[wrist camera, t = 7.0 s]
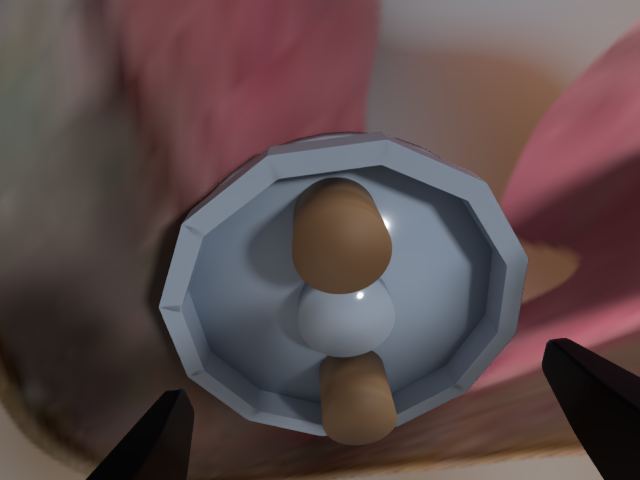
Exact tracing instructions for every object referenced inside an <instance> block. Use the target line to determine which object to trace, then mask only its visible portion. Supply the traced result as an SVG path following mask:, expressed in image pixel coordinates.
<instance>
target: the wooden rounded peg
mask: <svg viewBox="0 0 640 480" xmlns="http://www.w3.org/2000/svg"><path fill="white" fill-rule="evenodd" d="M319 377H320V392H321V408H322V424H323V429H324V431H325V433H326V434H327V436H328V437H330V438H331V439H332V440H334V441H336V442H339V443H342V444H346V445H365V444H370V443H373V442H376V441H378V440H380V439H382V438H384V437H385V436H387V435H388V434H389V433H390V432H391V431H392V430H393V429H394V427H395V425H396V422H397V413H396V409H395V406H394V402H393V398H392V394H391V391H390V387H389V383H388V379H387V376H386V372H385V368H384V364H383V361H382V359H381V358H380V356H379V355H378V354H377V353H375V352H374V351H372V350H371V351H369V352H367V353H364V354H361V355H358V356H352V357H333V356H329V355H328V356H327V357H326V358H325V359H324V360H323V362H322V363H321V366H320V369H319Z"/></svg>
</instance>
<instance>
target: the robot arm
mask: <svg viewBox="0 0 640 480" xmlns="http://www.w3.org/2000/svg"><path fill="white" fill-rule="evenodd" d="M542 369H543V372H544V375H545V377H546V378H547V380H548V382H549V384H550V386H551V388H552V390H553V392H554V394H555V396H556V398H557V400H558V402H559V404H560V406H561V408H562V410H563V412H564V414H565V416H566V418H567V420H568V422H569V424H570V425H571V427H572V429H573V431H574V433H575V435H576V436H577V438H578V439H579V441H580V443H581V444H582V446H583V448H584V449H585V451H586V452H587V454H588V455H589V457H590V458H591V460H592V462H593V463H594V465H595V466H596V468H597V469H598V471H599V472H600V474H601V476H602V477H603V479H604V480H640V377H638V376H637V375H635V374H633V373H631V372H629V371H627V370H625V369H624V368H622V367H620V366H618V365H616V364H614V363H612V362H611V361H609V360H607V359H605V358H603V357H601V356H599V355H598V354H596V353H594V352H592V351H590V350H588V349H586V348H585V347H583V346H581V345H579V344H577V343H575V342H573V341H572V340H569V339H567V338H559V339H552V340H549V341H548V342H547V344H546V348H545V352H544V356H543V361H542ZM193 425H194V410H193V407H192V405H191V402H190V400H189V398H188V396H187V393H186V391H185V390H184V389H183V388H179V389H171V390H167V391H166V392H164V393H163V394H162V395H161V397H160V398H159V399H158V400H157V401H156V402H155V403H154V404H153V405H152V407H151V408H150V409H149V410H148V411H147V412H146V413H145V414H144V415H143V417H142V418H141V419H140V420H139V421H138V422H137V423H136V424H135V425H134V427H133V428H132V429H131V430H130V431H129V432H128V433H127V434H126V435H125V437H124V438H123V439H122V440H121V441H120V442H119V443H118V444H117V445H116V447H115V448H114V449H113V450H112V451H111V452H110V453H109V454H108V455H107V457H106V458H105V459H104V460H103V461H102V462H101V463H100V464H99V465H98V467H97V468H96V469H95V470H94V471H93V472H92V473H91V474H90V475H89V477H88V478H87V479H86V480H186V478H187V471H188V463H189V456H190V448H191V440H192V433H193Z"/></svg>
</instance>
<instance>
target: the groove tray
mask: <svg viewBox="0 0 640 480" xmlns="http://www.w3.org/2000/svg"><path fill="white" fill-rule="evenodd" d="M330 177H343V178H348V179H351V180H353V181H356V182H357V183H359V184H361V185H362V186H363V187H364V188H365V189H367V191H368V192H369V193H370V194H371V196H372V198H373V200H374V202H375V204H376V206H377V208H378V211H379V213H380V215H381V217H382V219H383V221H384V223H385V226H386V228H387V230H388V232H389V234H390V237H391V241H392V256H391V260H390V262H389V265H388V267H387V269H386V270H385V272H384V273H383V275H382V276H381V277H380V278H379V279H378V280H377V281H376V282H374V283H373V284H372V285H370V286H368V287H367V288H365V289H363V290H360V291H357V292H354V293H349V294H330V293H325V292H322V291H319V290H317V289H315V288H313V287H311V286H310V285H308V284H307V283H306V282H305V281H304V280H303V279H302V278H301V277H300V276H299V275H298V273H297V271H296V269H295V267H294V264H293V260H292V236H293V214H294V208H295V205H296V202H297V200H298V198H299V196H300V195H301V194H302V192H303V191H304V190H305V189H306V188H308V187H309V186H310V185H312V184H313V183H315V182H317V181H319V180H322V179H325V178H330ZM528 260H529V259H528V256H527V255H526V253H525V251H524V249H523V247H522V246H521V244H520V242H519V240H518V238H517V237H516V235H515V233H514V231H513V230H512V228H511V226H510V224H509V222H508V221H507V219H506V217H505V215H504V213H503V212H502V210H501V208H500V206H499V204H498V203H497V201H496V199H495V197H494V195H493V194H492V192H491V190H490V188H489V186H488V185H487V183H486V182H485V181H483V180H482V179H481V178H479V177H478V176H476V175H475V174H474V173H472V172H470V171H468V170H466V169H464V168H461V167H459V166H457V165H454V164H452V163H450V162H448V161H445V160H443V159H442V158H440V157H439V156H437V155H435V154H433V153H431V152H430V151H428V150H426V149H424V148H422V147H420V146H418V145H415V144H412V143H409V142H407V141H404V140H401V139H398V138H394V137H391V136H389V135H386V134H384V133H382V132H373V133H363V132H335V133H322V134H317V135H313V136H308V137H303V138H298V139H295V140H292V141H289V142H287V143H284V144H281V145H278V146H271V147H269V148H267V149H266V150H265V151H264V152H262V153H261V154H259V155H257V156H255V157H253V158H252V159H250V160H249V161H247V162H246V163H245V164H243V165H242V166H240V167H239V168H237V169H236V170H234V171H233V172H232V173H231V174H230V175H229V176H228V177H227V178H226V179H224V180H223V181H222V182H221V183H220V184H219V185H218V186H217V187H216V188H215V189H214V191H213V192H212V193H211V194H210V195H209V196H208V197H207V198H205V199H204V200H203V201H202V202H200V203H199V204H198V205H197V206H195V207H194V208H193V209H192V210H191V211H190V212H189V214H188V215H187V217H186V218H185V220H184V222H183V223H182V225H181V229H180V232H179V236H178V240H177V243H176V247H175V250H174V254H173V258H172V261H171V265H170V268H169V272H168V276H167V279H166V283H165V286H164V290H163V294H162V297H161V301H160V305H159V309H160V312H161V314H162V317H163V319H164V321H165V324H166V326H167V328H168V331H169V333H170V336H171V338H172V340H173V343H174V345H175V347H176V350H177V352H178V355H179V357H180V359H181V362H182V364H183V367H184V369H185V371H186V374H187V376H188V377H189V378H190V379H192V380H193V381H194V382H196V383H197V384H199V385H200V386H201V387H203V388H204V389H205V390H207V391H208V392H210V393H211V394H212V395H214V396H215V397H217V398H218V399H219V400H221V401H222V402H223V403H225V404H226V405H228V406H229V407H230V408H232V409H233V410H235V411H236V412H237V413H239V414H240V415H241V416H243V417H244V418H246V419H247V420H250V421H254V422H259V423H263V424H268V425H273V426H277V427H282V428H286V429H291V430H295V431H300V432H304V433H309V434H314V435H318V436H327V434H326V433H325V431H324V429H323V424H322V408H321V392H320V377H319V369H320V366H321V363H322V362H323V360H324V359H325V358H326V357H327V356H328V355H329V356H333V357H352V356H358V355H361V354H364V353H367V352H369V351H371V350H372V351H374V352H375V353H377V354H378V355H379V356H380V358H381V359H382V361H383V364H384V368H385V372H386V376H387V379H388V383H389V387H390V391H391V394H392V398H393V402H394V406H395V409H396V413H397V422H396V425H395V427H397V426H400V425H402V424H404V423H406V422H408V421H410V420H412V419H414V418H416V417H418V416H420V415H422V414H424V413H426V412H428V411H430V410H432V409H434V408H436V407H438V406H440V405H442V404H444V403H446V402H448V401H450V400H452V399H454V398H456V397H458V396H460V395H462V394H464V393H466V392H467V391H468V389H469V388H470V387H471V386H472V385H473V384H474V382H475V381H476V380H477V379H478V378H479V377H480V375H481V374H482V373H483V372H484V371H485V370H486V368H487V367H488V366H489V365H490V364H491V363H492V361H493V360H494V359H495V358H496V357H497V356H498V354H499V353H500V352H501V351H502V350H503V348H504V347H505V346H506V345H507V344H508V343H509V341H510V340H511V339H512V338H513V337H514V336H515V334H516V329H517V324H518V318H519V312H520V306H521V300H522V295H523V289H524V283H525V277H526V271H527V265H528Z"/></svg>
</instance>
